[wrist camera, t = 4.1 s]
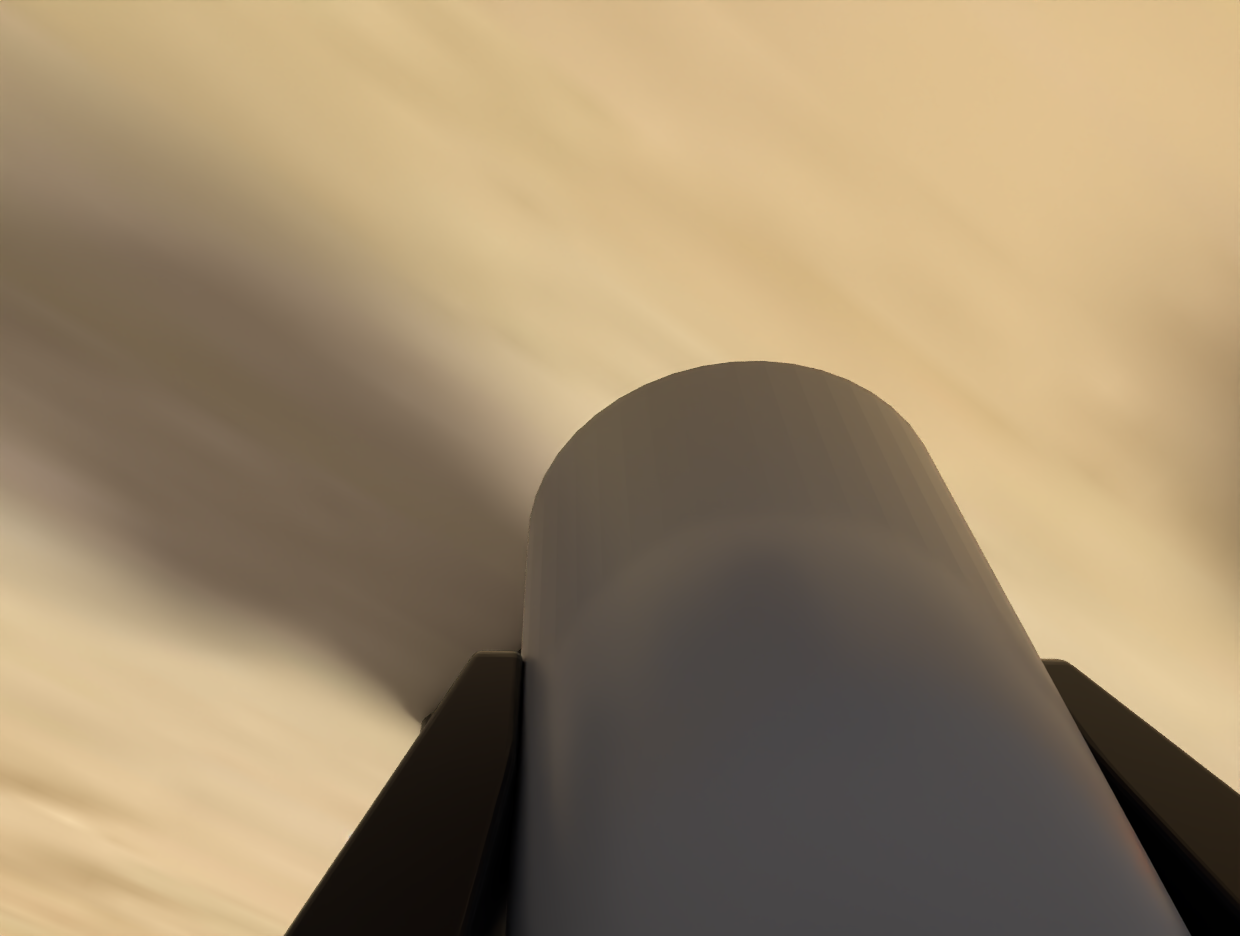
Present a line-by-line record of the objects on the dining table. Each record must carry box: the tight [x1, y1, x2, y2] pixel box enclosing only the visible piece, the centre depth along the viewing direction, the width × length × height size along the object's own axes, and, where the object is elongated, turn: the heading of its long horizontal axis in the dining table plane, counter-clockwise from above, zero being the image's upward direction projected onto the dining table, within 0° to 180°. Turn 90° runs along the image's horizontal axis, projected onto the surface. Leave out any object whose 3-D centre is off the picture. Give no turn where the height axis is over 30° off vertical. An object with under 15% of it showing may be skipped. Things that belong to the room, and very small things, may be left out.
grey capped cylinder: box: [505, 361, 1191, 936], centre depth 7 cm, size 4×4×8 cm
